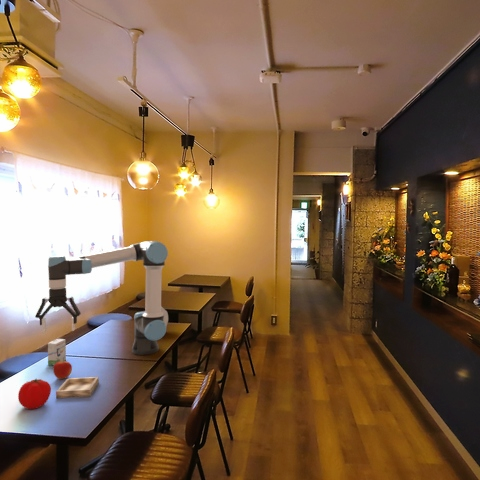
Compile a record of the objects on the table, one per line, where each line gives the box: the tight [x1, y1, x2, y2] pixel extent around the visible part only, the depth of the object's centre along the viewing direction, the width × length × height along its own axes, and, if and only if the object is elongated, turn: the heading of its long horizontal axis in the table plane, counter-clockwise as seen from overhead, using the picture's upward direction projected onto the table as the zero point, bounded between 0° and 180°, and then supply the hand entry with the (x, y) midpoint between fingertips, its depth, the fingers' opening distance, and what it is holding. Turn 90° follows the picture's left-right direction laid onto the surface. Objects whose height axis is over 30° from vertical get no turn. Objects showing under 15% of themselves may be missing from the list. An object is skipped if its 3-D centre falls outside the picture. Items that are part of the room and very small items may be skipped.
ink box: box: [47, 338, 67, 366], centre depth 206 cm, size 9×5×12 cm, turn 168°
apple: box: [52, 360, 73, 380], centre depth 185 cm, size 8×8×10 cm
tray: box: [55, 376, 100, 399], centre depth 171 cm, size 14×14×3 cm
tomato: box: [18, 378, 52, 410], centre depth 157 cm, size 12×12×11 cm
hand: (58, 331), depth 186 cm, fingers open, 13 cm apart
